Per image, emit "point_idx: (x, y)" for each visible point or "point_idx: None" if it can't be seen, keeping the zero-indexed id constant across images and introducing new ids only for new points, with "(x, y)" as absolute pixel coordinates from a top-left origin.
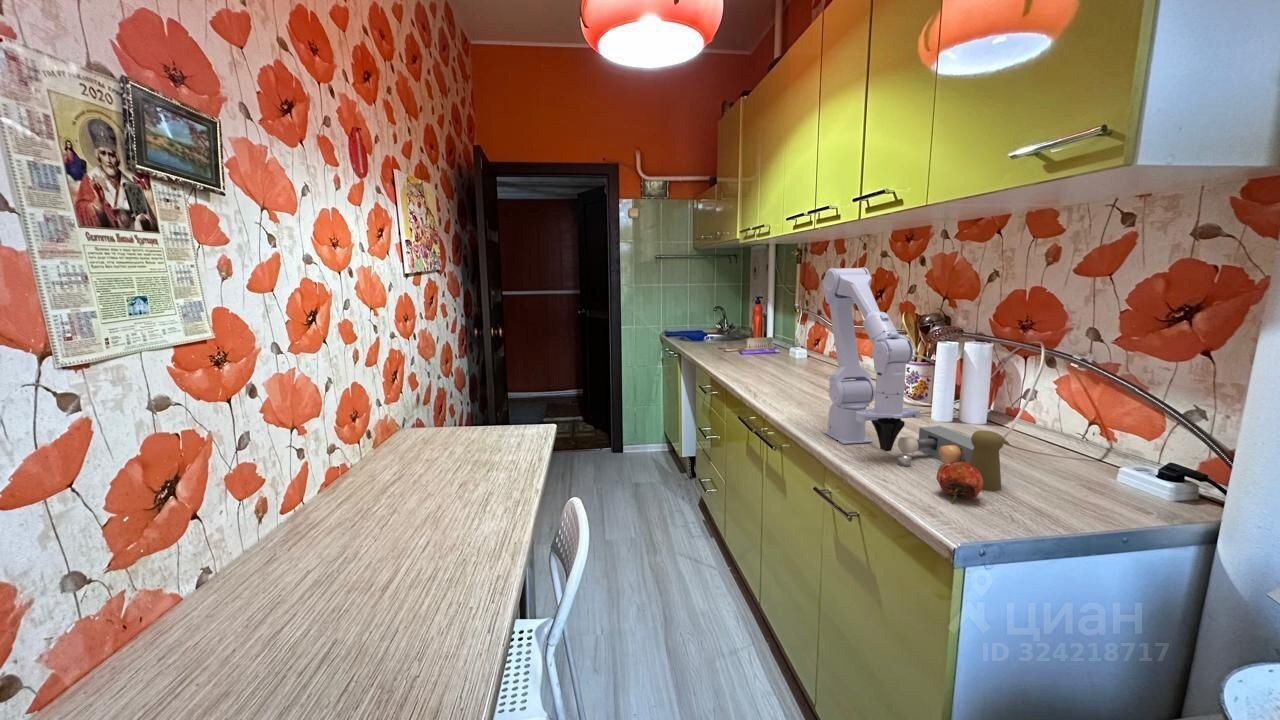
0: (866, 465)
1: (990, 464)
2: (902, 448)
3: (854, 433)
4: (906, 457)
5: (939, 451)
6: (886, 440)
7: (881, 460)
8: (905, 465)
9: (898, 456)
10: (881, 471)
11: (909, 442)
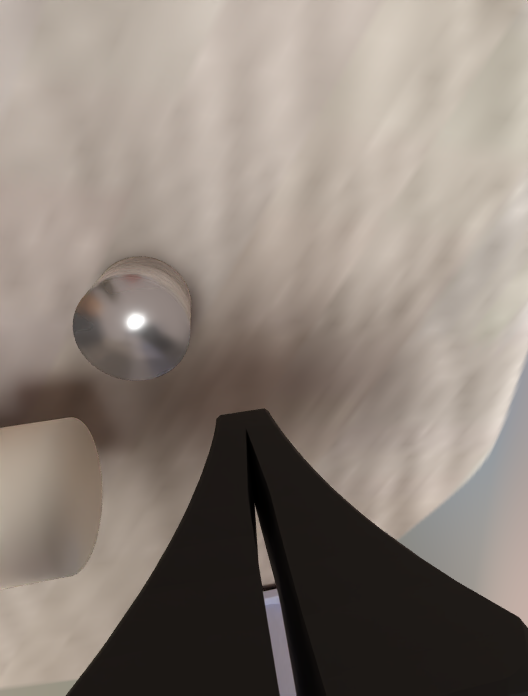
0: (413, 309)
1: None
2: (86, 468)
3: (285, 654)
4: (142, 285)
5: None
6: (307, 468)
7: (265, 384)
8: (157, 261)
9: (189, 339)
10: (390, 189)
11: (14, 486)
